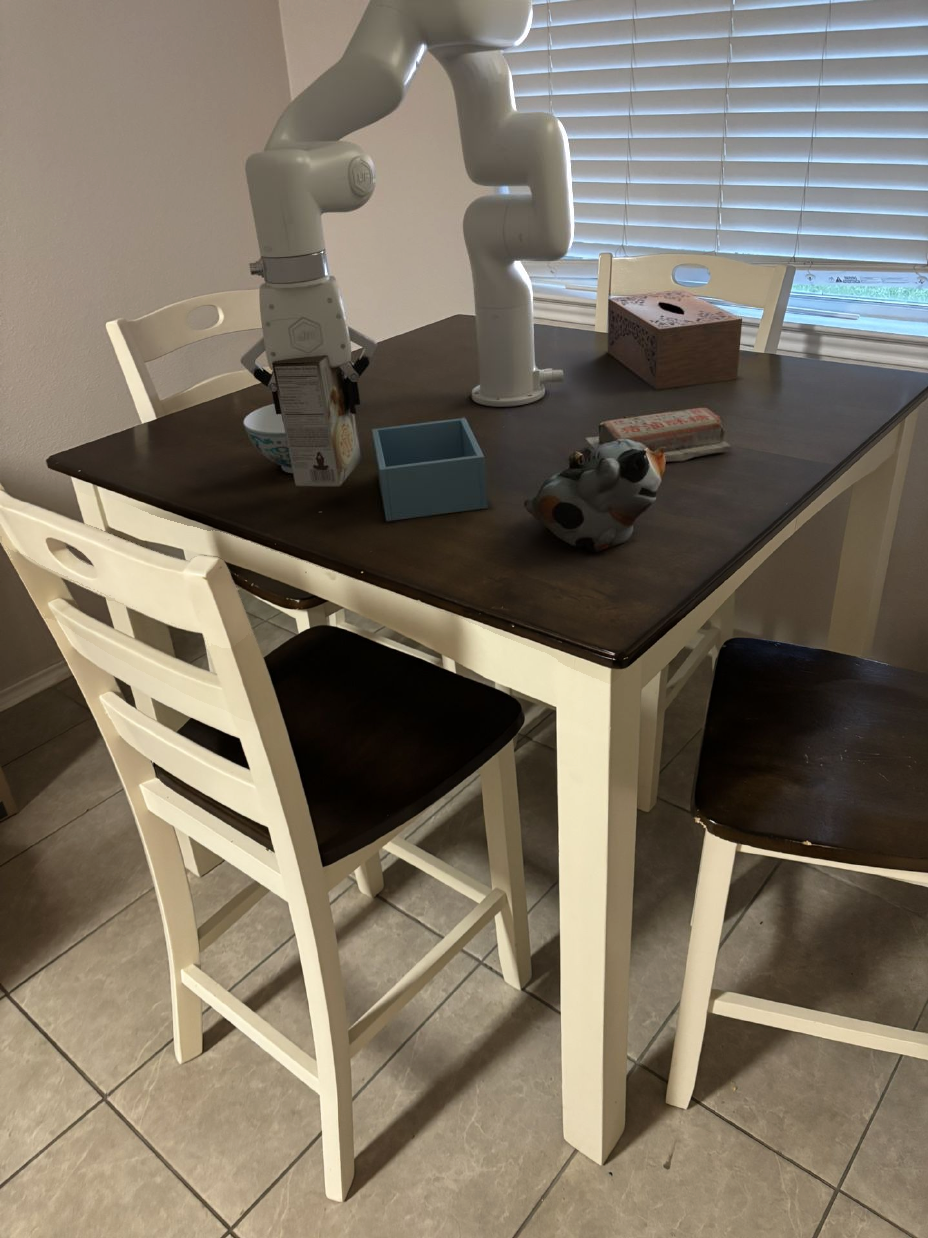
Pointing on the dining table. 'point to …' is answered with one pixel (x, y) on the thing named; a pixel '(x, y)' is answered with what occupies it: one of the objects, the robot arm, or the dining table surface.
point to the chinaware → (269, 435)
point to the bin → (429, 469)
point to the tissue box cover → (674, 338)
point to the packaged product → (668, 433)
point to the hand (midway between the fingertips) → (319, 414)
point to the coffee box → (317, 420)
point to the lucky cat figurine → (600, 494)
